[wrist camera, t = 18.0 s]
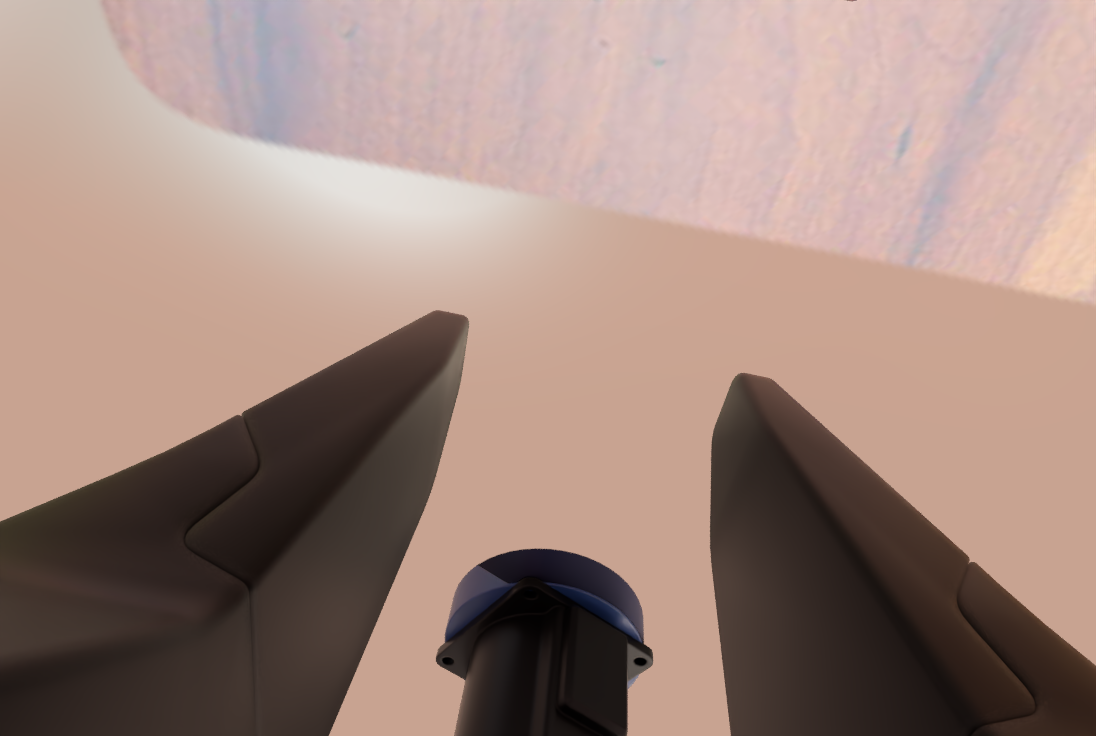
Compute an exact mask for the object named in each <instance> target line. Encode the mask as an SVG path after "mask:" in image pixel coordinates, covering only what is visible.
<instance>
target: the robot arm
mask: <svg viewBox="0 0 1096 736" xmlns="http://www.w3.org/2000/svg"><path fill="white" fill-rule="evenodd" d="M468 328H469V321H468V318H467V317H465V316H463V315H459V314H454V313H449V312H444V311H439V310H436V311H433V312H431V313H429V314H427V315H425V316H423V317H422V318H420V319H418V320H416V321H414V322H412V323H410V324H409V325H407V326H405V327H403V328H401V329H399V330H397V331H395V332H393V333H391V334H389V335H388V336H386V337H384V338H382V339H380V340H378V341H376V342H374V343H372V344H371V345H369V346H367V347H365V348H363V349H361V350H359V351H357V352H356V353H354V354H352V355H350V356H348V357H346V358H344V359H343V360H340V361H339V362H337V363H335V364H333V365H331V366H329V367H327V368H325V369H323V370H322V371H320V372H318V373H316V374H314V375H313V376H310V377H308V378H307V379H305V380H303V381H301V382H299V383H297V384H295V385H293V386H292V387H290V388H288V389H286V390H284V391H282V392H280V393H278V394H276V395H274V396H273V397H271V398H269V399H267V400H265V401H263V402H261V403H259V404H258V405H256V406H254V407H252V408H250V409H248V410H246V411H244V412H243V413H242V416H240V415H236V416H234V417H232V418H231V419H229V420H227V421H225V422H223V423H221V424H219V425H217V426H216V427H214V428H212V429H210V430H208V431H206V432H204V433H202V434H200V435H198V436H196V437H194V438H192V439H190V440H188V441H186V442H184V443H182V444H180V445H178V446H176V447H173V448H171V449H169V450H167V451H165V452H164V453H161V454H159V455H156V456H154V457H152V458H150V459H147V460H145V461H143V462H140V463H138V464H136V465H134V466H131V467H129V468H127V469H125V470H122V471H120V472H118V473H115V474H114V475H111V476H108V477H106V478H104V479H101V480H99V481H96V482H94V483H92V484H89V485H87V486H85V487H82V488H80V489H77V490H75V491H73V492H70V493H68V494H66V495H63V496H60V497H58V498H56V499H53V500H51V501H49V502H46V503H44V504H41V505H39V506H37V507H34V508H32V509H29V510H27V511H25V512H22V513H20V514H18V515H15V516H13V517H10V518H8V519H6V520H3V521H1V522H0V736H329V734H330V731H331V729H332V726H333V724H334V722H335V719H336V717H337V715H338V712H339V710H340V708H341V705H342V703H343V700H344V698H345V696H346V693H347V691H348V688H349V686H350V684H351V681H352V679H353V677H354V674H355V672H356V670H357V667H358V665H359V662H360V660H361V658H362V655H363V653H364V650H365V648H366V646H367V644H368V641H369V639H370V636H371V634H372V632H373V629H374V627H375V625H376V622H377V620H378V617H379V615H380V613H381V610H382V608H383V606H384V603H385V601H386V598H387V596H388V594H389V591H390V589H391V587H392V584H393V582H394V580H395V577H396V575H397V572H398V570H399V568H400V565H401V563H402V561H403V558H404V556H405V553H406V551H407V549H408V546H409V544H410V541H411V539H412V536H413V535H414V532H415V530H416V527H417V525H418V523H419V520H420V518H421V516H422V513H423V511H424V508H425V506H426V503H427V500H428V498H429V495H430V493H431V490H432V486H433V483H434V480H435V477H436V473H437V469H438V466H439V462H440V458H441V455H442V450H443V447H444V443H445V439H446V436H447V431H448V428H449V424H450V421H451V417H452V413H453V409H454V406H455V402H456V398H457V395H458V390H459V386H460V381H461V376H462V370H463V363H464V356H465V349H466V342H467V335H468ZM711 456H712V457H711V514H710V515H711V516H710V549H711V563H712V572H713V581H714V590H715V599H716V607H717V616H718V625H719V634H720V642H721V651H722V660H723V669H724V678H725V687H726V695H727V704H728V713H729V722H730V730H731V736H1096V666H1095V665H1094V664H1093V663H1092V662H1091V661H1089V660H1088V659H1087V658H1086V657H1084V656H1083V655H1082V654H1081V653H1080V652H1078V651H1077V650H1076V649H1075V648H1073V647H1072V646H1071V645H1070V644H1068V643H1067V642H1066V641H1065V640H1064V639H1062V638H1061V637H1060V636H1059V635H1058V634H1056V633H1055V632H1054V631H1053V630H1051V629H1050V628H1049V627H1048V626H1046V625H1045V624H1044V623H1043V622H1042V621H1041V620H1040V619H1038V618H1037V617H1036V616H1035V615H1034V614H1033V613H1031V612H1030V611H1029V610H1028V609H1027V608H1026V607H1025V606H1023V605H1022V604H1021V603H1020V602H1019V601H1017V599H1015V598H1014V597H1013V596H1012V595H1011V594H1010V593H1008V592H1007V591H1006V590H1005V589H1004V588H1003V587H1002V586H1000V585H999V584H998V583H997V582H996V581H995V580H994V579H993V578H992V577H991V576H990V575H989V574H987V573H986V572H985V571H984V570H983V569H982V568H981V567H980V566H979V565H978V564H976V563H975V562H970V563H969V557H968V556H967V555H966V554H965V553H964V552H963V551H962V550H961V549H959V548H958V547H957V546H956V545H955V544H954V543H953V542H952V541H951V540H950V539H949V538H947V537H946V536H945V535H944V534H943V533H942V532H941V531H940V530H938V529H937V528H936V527H935V526H934V525H933V524H932V523H931V522H930V521H928V520H927V519H926V518H925V517H924V516H923V515H921V513H920V512H919V511H917V510H916V509H915V508H914V507H913V506H912V505H911V504H910V503H909V502H907V501H906V500H905V499H904V498H903V497H902V496H901V495H900V494H899V493H897V492H896V491H895V490H894V489H893V488H892V487H891V486H890V485H889V484H888V483H886V482H885V481H884V480H883V479H882V478H881V477H880V476H879V475H878V474H876V473H875V472H874V471H873V470H872V469H871V468H870V467H869V466H868V465H866V464H865V463H864V462H863V461H862V460H861V459H860V458H859V457H857V455H855V454H854V453H853V452H852V451H851V450H850V449H849V448H848V447H847V446H845V445H844V444H843V443H842V442H841V441H840V440H839V439H838V438H837V437H835V436H834V435H833V434H832V433H831V432H830V431H829V430H827V428H825V427H824V426H823V425H822V424H821V423H820V422H819V421H817V419H815V418H814V417H813V416H812V415H811V414H810V413H809V412H808V411H807V410H805V409H804V408H803V407H802V406H801V405H800V404H799V403H798V402H797V401H796V400H794V399H793V398H792V397H791V396H790V395H789V394H788V393H787V392H786V391H784V390H783V389H782V388H781V387H780V386H779V385H778V384H777V383H776V382H775V381H773V380H772V379H770V378H766V377H761V376H757V375H752V374H747V373H740V374H738V375H737V376H736V377H735V378H734V380H733V381H732V384H731V386H730V389H729V391H728V394H727V396H726V399H725V402H724V404H723V407H722V409H721V412H720V415H719V417H718V420H717V422H716V425H715V428H714V432H713V437H712V451H711ZM968 563H969V564H968ZM529 590H532V591H529ZM436 662H437V664H438V665H440V666H441V667H443V668H445V669H447V670H448V671H450V672H452V673H454V674H456V675H458V676H459V677H461V678H463V679H465V686H464V690H463V695H462V700H461V705H460V710H459V715H458V720H457V725H456V730H455V735H454V736H627V732H628V731H627V730H628V728H627V727H628V714H627V713H628V701H627V700H628V695H627V694H628V681H630V680H631V679H633V678H634V677H636V676H637V675H639V674H640V673H642V672H643V671H645V670H646V669H648V668H649V667H651V666H652V664H653V653H652V650H651V649H650V648H649V647H647V646H646V645H644V644H643V643H641V642H639V641H638V640H636V639H634V638H633V637H631V636H630V635H628V634H626V633H625V632H623V631H622V630H620V629H618V628H617V627H615V626H613V625H612V624H610V623H609V622H607V621H605V620H604V619H602V618H601V617H599V616H597V615H596V614H594V613H592V612H591V611H589V610H588V609H586V608H584V607H583V606H581V605H580V604H578V603H576V602H575V601H573V600H571V599H570V598H568V597H567V596H565V595H563V594H562V593H560V592H559V591H557V590H555V589H554V588H552V587H550V586H549V585H547V584H546V583H544V582H542V581H541V580H539V579H537V578H532V577H528V578H524V579H522V580H520V581H519V582H518V583H517V584H516V585H514V586H513V587H512V588H511V589H510V590H508V591H507V592H506V593H505V594H503V595H502V596H501V597H500V598H499V599H497V600H496V601H495V602H494V603H493V604H491V605H490V606H489V607H488V608H487V609H485V610H484V611H483V612H482V613H480V614H479V615H478V616H477V617H476V618H474V619H473V620H472V621H471V622H470V623H468V624H467V625H466V626H465V627H464V628H462V629H461V630H460V631H459V632H457V633H456V634H455V635H454V636H453V637H451V638H450V639H449V640H448V641H447V642H445V643H444V644H443V645H442V646H441V647H440V648H439V649H438V652H437V656H436Z"/></svg>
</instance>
